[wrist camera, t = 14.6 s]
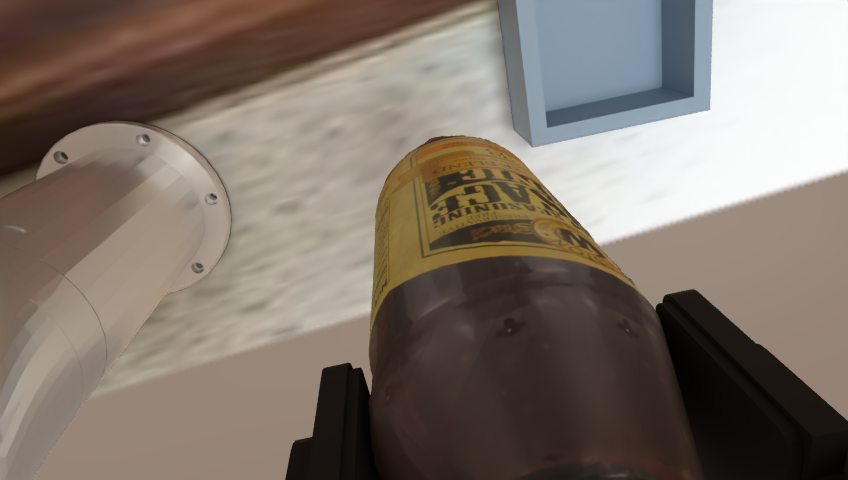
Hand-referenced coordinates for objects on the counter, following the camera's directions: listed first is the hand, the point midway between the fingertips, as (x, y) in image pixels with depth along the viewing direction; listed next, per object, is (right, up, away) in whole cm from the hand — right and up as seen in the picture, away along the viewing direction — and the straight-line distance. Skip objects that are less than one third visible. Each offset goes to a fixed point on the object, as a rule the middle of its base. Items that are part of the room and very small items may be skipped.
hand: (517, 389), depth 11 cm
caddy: (+9, +17, +24) cm, 30 cm away
